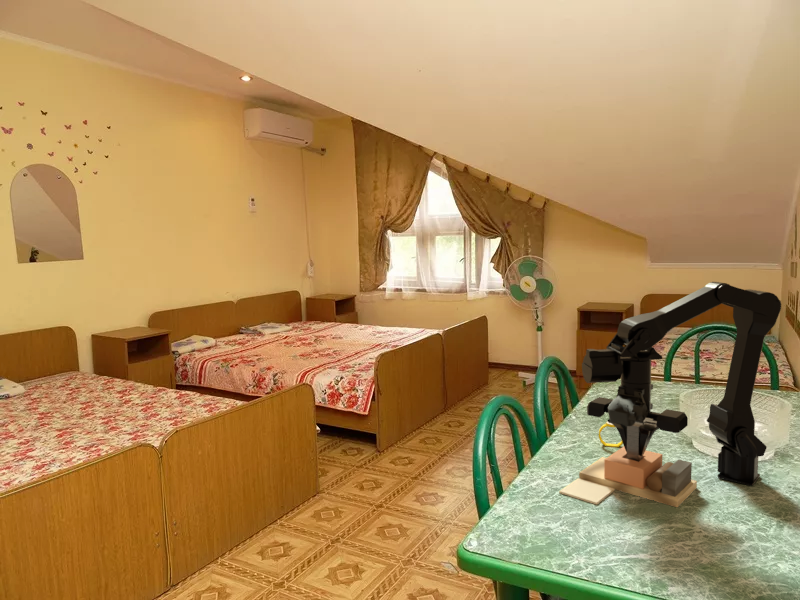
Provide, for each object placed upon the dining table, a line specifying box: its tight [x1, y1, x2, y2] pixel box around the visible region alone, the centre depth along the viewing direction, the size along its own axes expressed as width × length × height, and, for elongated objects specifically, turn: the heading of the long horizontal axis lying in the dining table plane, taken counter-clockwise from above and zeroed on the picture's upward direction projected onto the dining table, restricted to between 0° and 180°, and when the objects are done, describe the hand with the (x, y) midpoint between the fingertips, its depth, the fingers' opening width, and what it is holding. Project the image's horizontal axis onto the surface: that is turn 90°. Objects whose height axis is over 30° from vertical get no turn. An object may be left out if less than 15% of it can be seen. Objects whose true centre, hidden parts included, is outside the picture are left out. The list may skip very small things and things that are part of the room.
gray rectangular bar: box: [627, 422, 643, 462], centre depth 121 cm, size 2×2×10 cm
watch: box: [598, 420, 624, 448], centre depth 142 cm, size 6×3×6 cm, turn 70°
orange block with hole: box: [604, 445, 663, 489], centre depth 122 cm, size 8×10×4 cm
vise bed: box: [578, 456, 698, 508], centre depth 121 cm, size 20×11×6 cm, turn 46°
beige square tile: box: [559, 478, 616, 505], centre depth 119 cm, size 8×8×1 cm
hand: (634, 453), depth 121 cm, fingers closed on gray rectangular bar, 2 cm apart
